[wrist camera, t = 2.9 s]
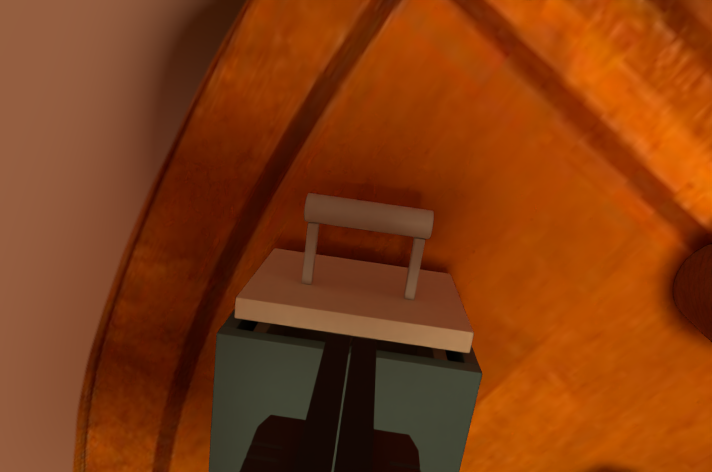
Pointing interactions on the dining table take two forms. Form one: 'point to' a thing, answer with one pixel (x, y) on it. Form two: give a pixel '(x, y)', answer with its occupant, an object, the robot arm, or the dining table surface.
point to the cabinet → (296, 383)
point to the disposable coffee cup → (696, 290)
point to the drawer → (358, 287)
